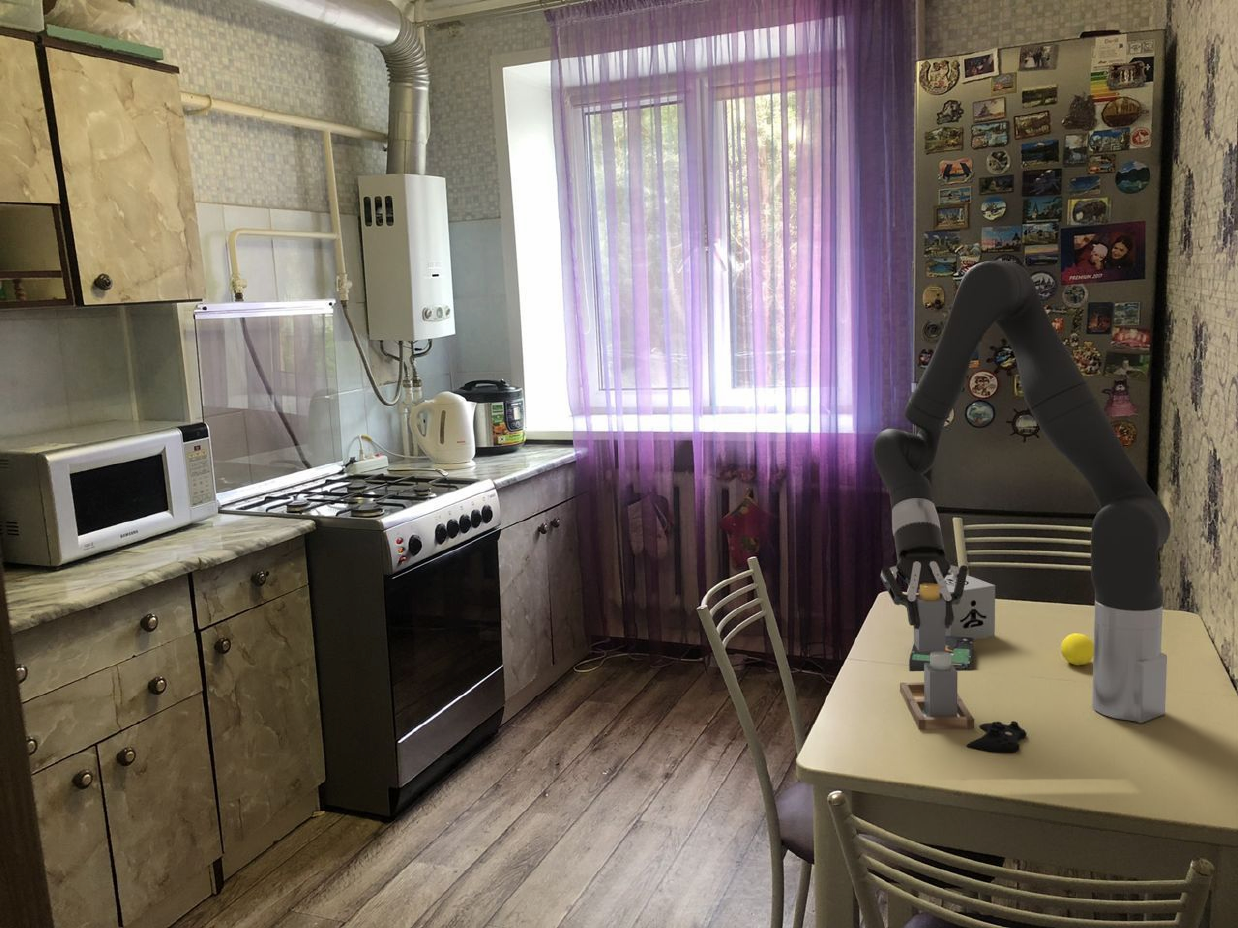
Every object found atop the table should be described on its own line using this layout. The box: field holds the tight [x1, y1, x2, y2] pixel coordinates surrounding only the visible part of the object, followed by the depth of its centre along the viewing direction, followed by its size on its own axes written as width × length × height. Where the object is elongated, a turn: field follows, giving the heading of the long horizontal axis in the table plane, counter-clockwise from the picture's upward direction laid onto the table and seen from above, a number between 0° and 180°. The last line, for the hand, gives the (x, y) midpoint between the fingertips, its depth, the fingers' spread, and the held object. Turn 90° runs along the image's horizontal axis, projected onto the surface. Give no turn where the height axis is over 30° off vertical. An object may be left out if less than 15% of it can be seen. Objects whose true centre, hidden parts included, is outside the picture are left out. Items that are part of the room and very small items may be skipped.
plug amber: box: [913, 583, 946, 652], centre depth 158 cm, size 4×4×10 cm
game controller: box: [966, 721, 1028, 754], centre depth 145 cm, size 10×5×7 cm
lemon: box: [1060, 632, 1094, 666], centre depth 177 cm, size 7×5×5 cm
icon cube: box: [917, 574, 996, 641], centre depth 195 cm, size 10×10×10 cm
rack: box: [899, 681, 975, 730], centre depth 157 cm, size 8×15×3 cm, turn 175°
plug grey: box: [923, 651, 958, 717], centre depth 153 cm, size 4×4×10 cm
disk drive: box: [908, 636, 974, 672], centre depth 182 cm, size 10×3×15 cm
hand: (932, 626), depth 157 cm, fingers closed on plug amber, 4 cm apart
